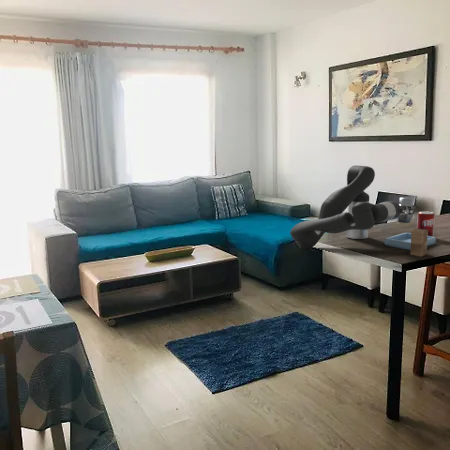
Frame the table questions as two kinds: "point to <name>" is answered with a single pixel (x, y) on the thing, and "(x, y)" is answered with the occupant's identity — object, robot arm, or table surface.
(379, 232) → the table surface
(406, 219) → the metal cylinder
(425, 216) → the soda can
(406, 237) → the tote
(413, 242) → the brown rectangular block
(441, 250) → the table surface
